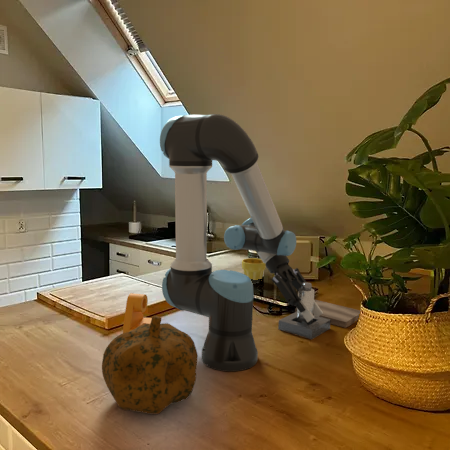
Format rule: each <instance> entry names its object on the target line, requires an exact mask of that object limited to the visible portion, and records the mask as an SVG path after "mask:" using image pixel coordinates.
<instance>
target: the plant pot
mask: <svg viewBox="0 0 450 450" xmlns="http://www.w3.org/2000/svg"><path fill="white" fill-rule="evenodd" d="M265 264H266V263H263V261H262V260H261V258H255V257H252V258H251V257H250V258H243V259H242V260H241V269H242V270H243V274H245V275H246V276H248V277H249V278H250V279H253V280H258V279H263V275H264V272H265V270H266V269H267V267H266V266H265Z"/></svg>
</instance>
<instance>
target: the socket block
mask: <svg viewBox="0 0 450 450" xmlns="http://www.w3.org/2000/svg"><path fill="white" fill-rule="evenodd" d="M313 316H314V318H313V323H312V324H310V325H306V324H303V323H299V322H297V312H295V311H294V312H293V313H291V314H289V315H287V316H284V317H282V318H280V319H278V328H277V329H278V330H279V331H283V332H286V333H289V334H293V335H296V336H298V337H299V336H300V337H303V338H305V339H309V340H314V339H315V338H317V337H319V336H320V335H321V334H324V333H326V331H328V330H329V331H330V330H331V324H330V322H331V320H330V319H326V318H322V317H319V316H318V317H317V318H316V316H315V315H313Z"/></svg>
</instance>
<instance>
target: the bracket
mask: <svg viewBox="0 0 450 450" xmlns="http://www.w3.org/2000/svg"><path fill="white" fill-rule="evenodd" d="M148 301H149V300H148V296H147V294H144V293H142V294H141V293H134V292H133V293H131V292H130V293H128V296H127V298H126V304H125V310H124V317H123V318H124V319H123V327H122V334H123V333H126V332H129V331H132V330H134V329H135V328H137V327H139V326H140V325H143V324H151V320H152V317H146V316H145V317H144V314H143V313H145V312H146V310H147V308H148Z"/></svg>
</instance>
